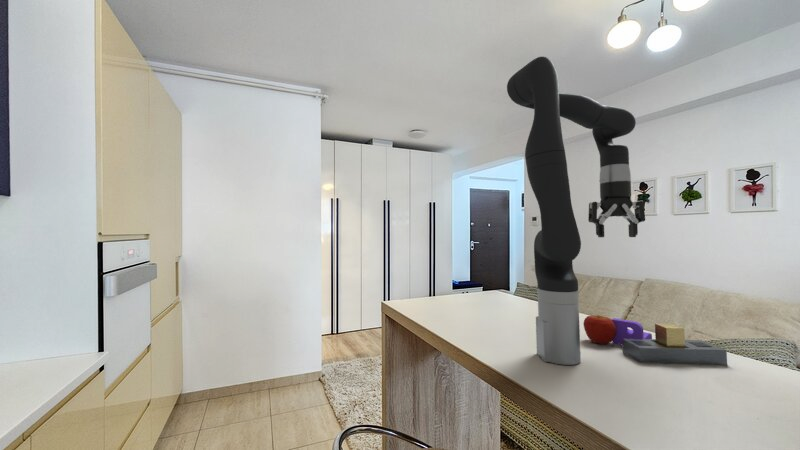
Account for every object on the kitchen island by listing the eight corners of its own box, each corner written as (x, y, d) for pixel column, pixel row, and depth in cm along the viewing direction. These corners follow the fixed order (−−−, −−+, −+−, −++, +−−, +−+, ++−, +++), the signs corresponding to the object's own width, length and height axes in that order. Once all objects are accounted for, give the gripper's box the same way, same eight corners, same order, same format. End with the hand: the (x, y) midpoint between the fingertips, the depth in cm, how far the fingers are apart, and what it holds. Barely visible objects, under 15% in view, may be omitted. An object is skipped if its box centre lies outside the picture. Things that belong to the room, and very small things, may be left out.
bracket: (642, 349, 85) (641, 324, 86) (612, 343, 90) (611, 319, 91) (652, 339, 93) (651, 316, 93) (624, 334, 98) (623, 312, 99)
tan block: (667, 361, 77) (666, 328, 77) (656, 355, 81) (654, 323, 81) (685, 361, 77) (684, 328, 77) (673, 355, 81) (671, 323, 81)
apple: (610, 349, 85) (609, 319, 86) (579, 342, 92) (578, 314, 92) (620, 342, 90) (619, 315, 91) (590, 336, 96) (589, 310, 97)
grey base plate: (640, 362, 76) (639, 347, 76) (622, 352, 83) (622, 338, 83) (727, 365, 74) (726, 349, 74) (702, 354, 81) (701, 339, 81)
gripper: (595, 180, 90) (597, 237, 89) (649, 178, 88) (652, 237, 88) (583, 184, 97) (584, 237, 97) (633, 183, 96) (635, 237, 95)
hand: (616, 237), depth 92 cm, fingers open, 8 cm apart
